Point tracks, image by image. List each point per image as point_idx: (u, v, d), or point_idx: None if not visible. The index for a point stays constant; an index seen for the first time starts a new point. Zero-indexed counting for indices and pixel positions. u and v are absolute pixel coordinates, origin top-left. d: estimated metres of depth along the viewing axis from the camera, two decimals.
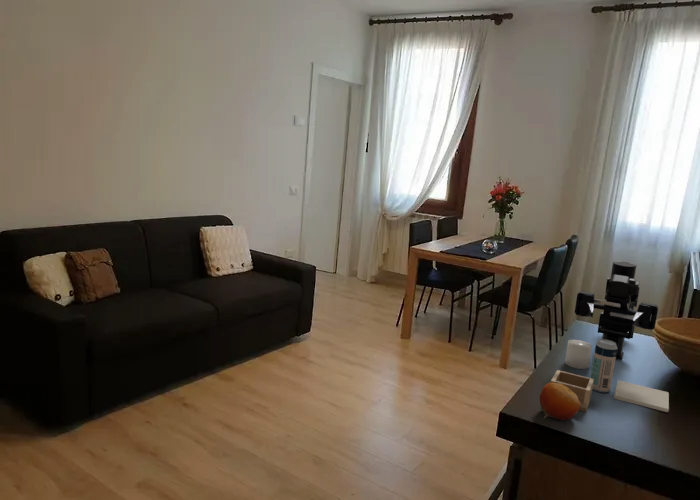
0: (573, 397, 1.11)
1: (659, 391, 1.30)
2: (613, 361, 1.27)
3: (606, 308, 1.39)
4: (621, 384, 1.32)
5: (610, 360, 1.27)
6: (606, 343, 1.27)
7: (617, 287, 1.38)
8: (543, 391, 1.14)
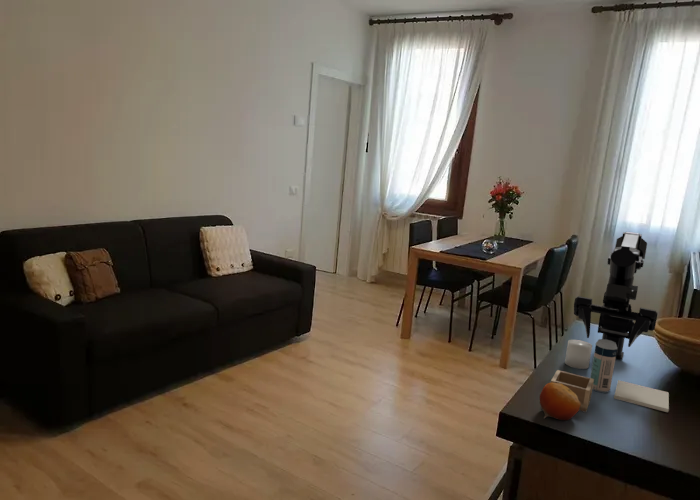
0: (573, 397, 1.11)
1: (659, 391, 1.30)
2: (613, 361, 1.27)
3: (604, 313, 1.37)
4: (621, 384, 1.32)
5: (610, 360, 1.27)
6: (606, 343, 1.27)
7: (614, 297, 1.33)
8: (543, 391, 1.14)
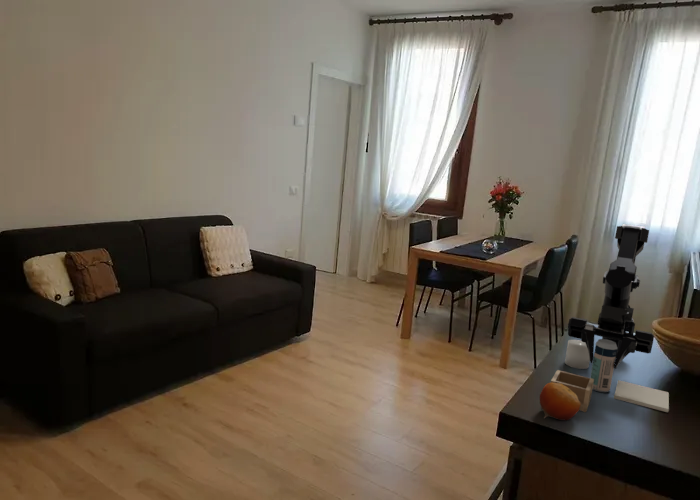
0: (573, 397, 1.11)
1: (659, 391, 1.30)
2: (613, 361, 1.27)
3: (599, 334, 1.33)
4: (621, 384, 1.32)
5: (610, 360, 1.27)
6: (606, 343, 1.27)
7: (609, 319, 1.28)
8: (543, 391, 1.14)
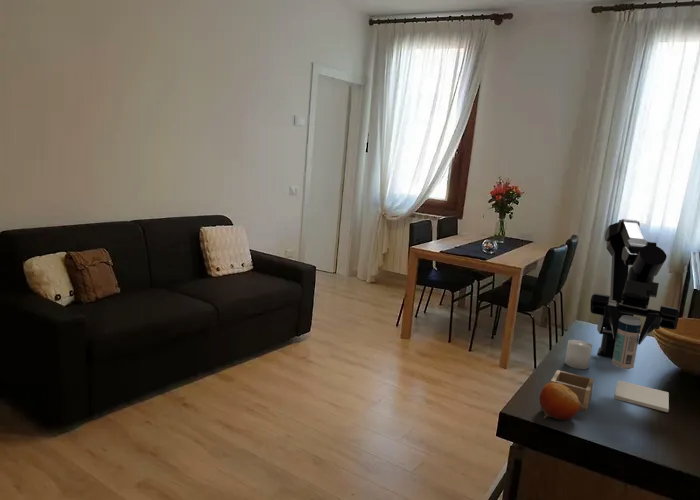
0: (573, 397, 1.11)
1: (659, 391, 1.30)
2: (637, 337, 1.25)
3: (623, 311, 1.30)
4: (621, 384, 1.32)
5: (634, 336, 1.24)
6: (630, 319, 1.25)
7: (633, 294, 1.26)
8: (543, 391, 1.14)
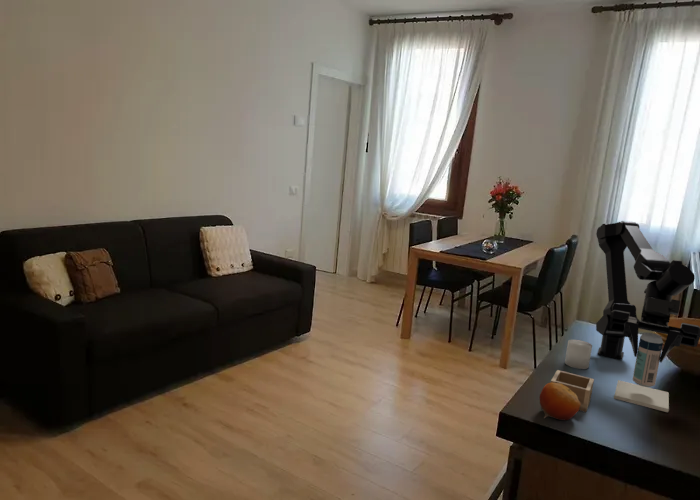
0: (573, 397, 1.11)
1: (659, 391, 1.30)
2: (659, 355, 1.24)
3: (643, 327, 1.30)
4: (621, 384, 1.32)
5: (656, 354, 1.23)
6: (652, 337, 1.24)
7: (654, 312, 1.25)
8: (543, 391, 1.14)
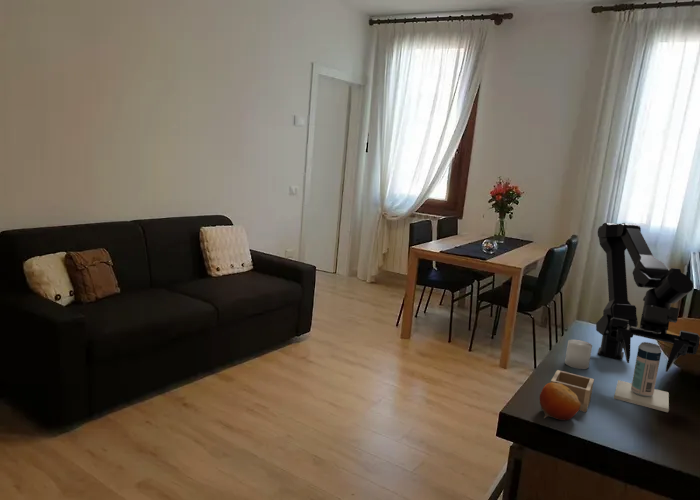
0: (573, 397, 1.11)
1: (659, 391, 1.30)
2: (657, 365, 1.24)
3: (642, 335, 1.30)
4: (621, 384, 1.32)
5: (654, 364, 1.24)
6: (650, 346, 1.25)
7: (653, 320, 1.26)
8: (543, 391, 1.14)
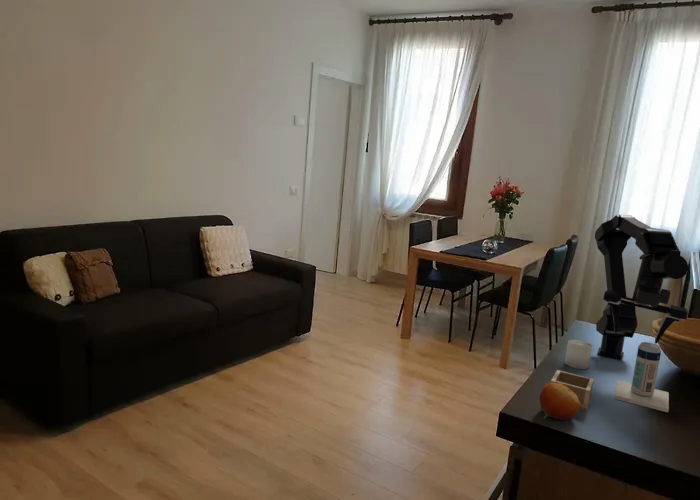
0: (573, 397, 1.11)
1: (659, 391, 1.30)
2: (657, 365, 1.24)
3: (633, 305, 1.37)
4: (621, 384, 1.32)
5: (654, 364, 1.24)
6: (649, 346, 1.25)
7: None
8: (543, 391, 1.14)
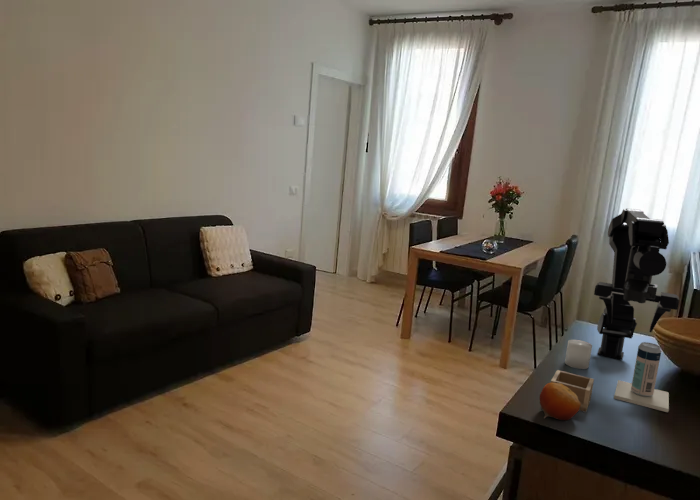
0: (573, 397, 1.11)
1: (659, 391, 1.30)
2: (657, 365, 1.24)
3: None
4: (621, 384, 1.32)
5: (654, 364, 1.24)
6: (650, 346, 1.25)
7: None
8: (543, 391, 1.14)
